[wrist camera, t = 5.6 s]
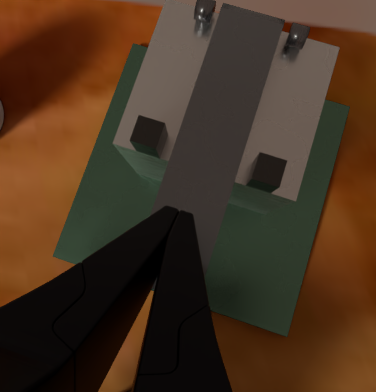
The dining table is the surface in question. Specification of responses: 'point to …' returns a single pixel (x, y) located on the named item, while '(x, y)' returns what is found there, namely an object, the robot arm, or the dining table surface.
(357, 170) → the dining table surface
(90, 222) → the base
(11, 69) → the dining table surface
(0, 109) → the supplement bottle
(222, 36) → the grey long flat bar
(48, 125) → the dining table surface
